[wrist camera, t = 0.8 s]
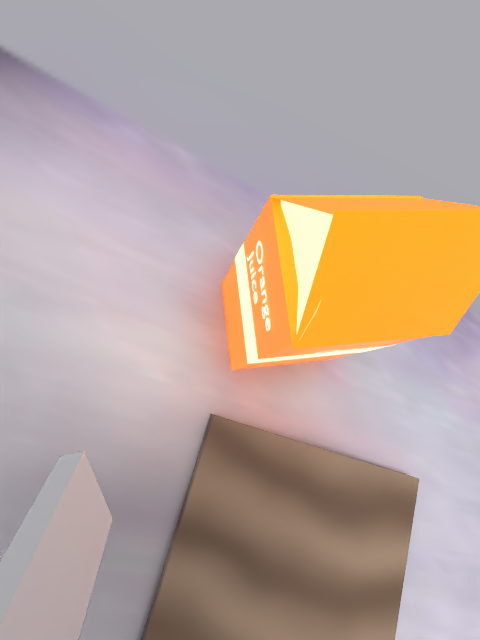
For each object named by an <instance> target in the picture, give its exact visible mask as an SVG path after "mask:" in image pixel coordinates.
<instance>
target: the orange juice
mask: <svg viewBox="0 0 480 640" xmlns="http://www.w3.org/2000/svg"><path fill="white" fill-rule="evenodd" d="M222 291H223V300H224V309H225V318H226V327H227V336H228V345H229V354H230V363H231V370H237V369H246V368H255V367H265V366H274V365H284V364H293V363H303V362H312V361H322V360H329V359H333V358H337V357H342V356H346V355H350V354H355V353H359V352H366V351H370V350H374V349H379V348H383V347H385V346H387V347H389V346H391V345H393V344H398V343H402V342H406V341H410V340H415V339H419V338H423V337H428V336H437V335H448V334H450V333H451V331H452V330H453V329H454V327H455V326H456V324H457V323H458V322H459V320H460V319H461V317H462V316H463V315H464V313H465V312H466V310H467V309H468V307H469V306H470V305H471V303H472V302H473V300H474V299H475V297H476V296H477V295H478V293H479V292H480V206H475V205H467V204H460V203H453V202H445V201H438V200H430V199H423V198H422V196H334V195H331V196H330V195H316V196H315V195H270V197H269V199H268V201H267V202H266V204H265V206H264V208H263V210H262V212H261V213H260V215H259V217H258V219H257V221H256V222H255V224H254V226H253V228H252V230H251V232H250V233H249V235H248V237H247V239H246V241H245V242H244V244H242V246H241V248H240V250H239V252H238V253H237V255H236V257H235V261H234V262H233V264H232V266H231V268H230V270H229V271H228V273H227V275H226V277H225V279H224V281H223V282H222ZM393 346H394V345H393Z"/></svg>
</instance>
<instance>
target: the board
mask: <svg viewBox="0 0 480 640" xmlns="http://www.w3.org/2000/svg"><path fill="white" fill-rule="evenodd" d="M418 483H419V479H418V478H415V477H412V476H409V475H406V474H402V473H399V472H396V471H393V470H389V469H386V468H383V467H380V466H377V465H373V464H370V463H367V462H364V461H360V460H357V459H354V458H351V457H348V456H344V455H341V454H338V453H335V452H332V451H328V450H325V449H322V448H319V447H315V446H312V445H309V444H306V443H303V442H299V441H296V440H293V439H290V438H286V437H283V436H280V435H277V434H274V433H270V432H267V431H264V430H261V429H258V428H254V427H251V426H248V425H245V424H241V423H238V422H235V421H232V420H229V419H225V418H222V417H219V416H216V415H212V414H211V416H210V420H209V423H208V426H207V429H206V433H205V436H204V439H203V442H202V445H201V449H200V452H199V455H198V458H197V462H196V465H195V468H194V471H193V475H192V478H191V481H190V484H189V487H188V491H187V494H186V497H185V500H184V504H183V507H182V510H181V513H180V516H179V520H178V523H177V526H176V529H175V533H174V536H173V539H172V542H171V546H170V549H169V552H168V555H167V558H166V562H165V565H164V568H163V571H162V575H161V578H160V581H159V584H158V587H157V591H156V594H155V597H154V600H153V604H152V607H151V610H150V613H149V617H148V620H147V623H146V626H145V629H144V633H143V636H142V639H141V640H395V634H396V627H397V621H398V614H399V608H400V601H401V595H402V588H403V582H404V575H405V569H406V562H407V555H408V549H409V542H410V536H411V529H412V523H413V516H414V510H415V503H416V497H417V490H418Z"/></svg>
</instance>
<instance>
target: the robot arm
mask: <svg viewBox="0 0 480 640" xmlns="http://www.w3.org/2000/svg"><path fill="white" fill-rule="evenodd" d="M112 520H113V518H112V516H111V513H110V511H109V509H108V506H107V504H106V501H105V499H104V497H103V494H102V492H101V489H100V487H99V485H98V482H97V480H96V477H95V475H94V472H93V470H92V468H91V465H90V463H89V460H88V458H87V456H86V453H85V451H80V452H76V453H72V454H68V455H64V456H60V457H59V459H58V460H57V462H56V464H55V466H54V467H53V469H52V471H51V473H50V474H49V476H48V478H47V480H46V481H45V483H44V485H43V487H42V488H41V490H40V492H39V494H38V495H37V497H36V499H35V501H34V502H33V504H32V506H31V508H30V510H29V511H28V513H27V515H26V517H25V518H24V520H23V522H22V524H21V525H20V527H19V529H18V531H17V532H16V534H15V536H14V538H13V539H12V541H11V543H10V545H9V546H8V548H7V550H6V552H5V554H4V555H3V557H2V559H1V561H0V640H79V637H80V633H81V630H82V626H83V623H84V619H85V616H86V612H87V609H88V605H89V602H90V598H91V594H92V591H93V587H94V584H95V580H96V577H97V573H98V570H99V566H100V563H101V559H102V556H103V552H104V548H105V545H106V541H107V538H108V534H109V531H110V527H111V524H112Z"/></svg>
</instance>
